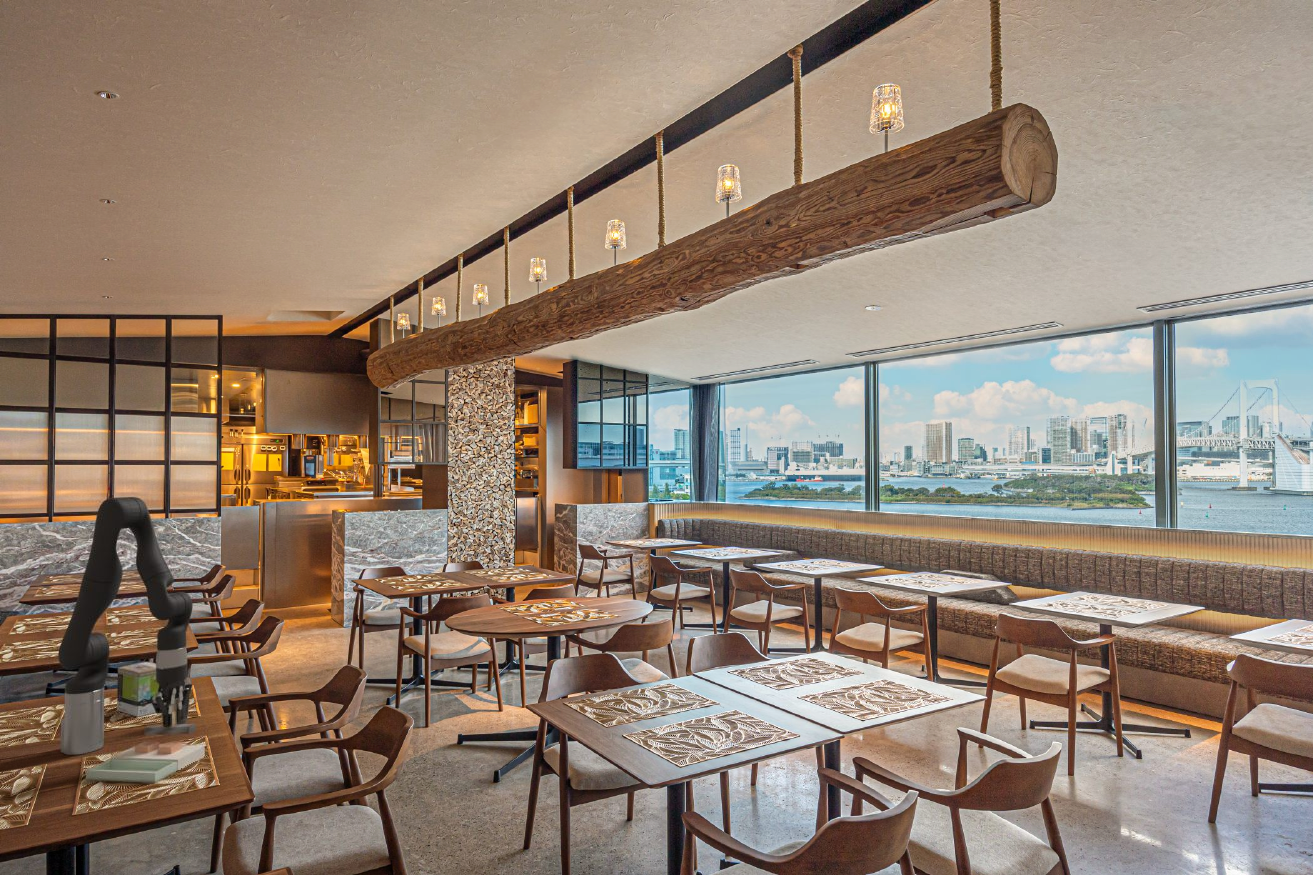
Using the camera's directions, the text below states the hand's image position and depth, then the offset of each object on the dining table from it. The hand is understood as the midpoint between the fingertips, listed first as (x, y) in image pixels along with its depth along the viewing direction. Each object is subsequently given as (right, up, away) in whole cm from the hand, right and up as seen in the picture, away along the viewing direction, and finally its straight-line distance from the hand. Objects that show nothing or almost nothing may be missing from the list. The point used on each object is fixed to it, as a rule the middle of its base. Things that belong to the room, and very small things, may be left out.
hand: (171, 724), depth 214 cm
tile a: (-4, -5, -5) cm, 8 cm away
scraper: (0, -2, 0) cm, 2 cm away
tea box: (-36, -11, +41) cm, 56 cm away
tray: (-1, -8, -15) cm, 17 cm away
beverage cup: (-14, -10, +25) cm, 30 cm away
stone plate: (0, -8, -6) cm, 10 cm away
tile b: (+3, -5, -6) cm, 8 cm away
